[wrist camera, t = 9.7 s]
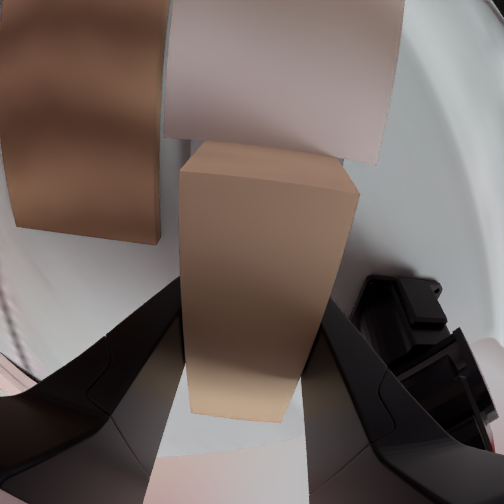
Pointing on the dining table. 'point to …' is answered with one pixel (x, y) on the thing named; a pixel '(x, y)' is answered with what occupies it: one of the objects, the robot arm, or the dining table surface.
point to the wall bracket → (13, 378)
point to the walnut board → (83, 115)
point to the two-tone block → (269, 179)
